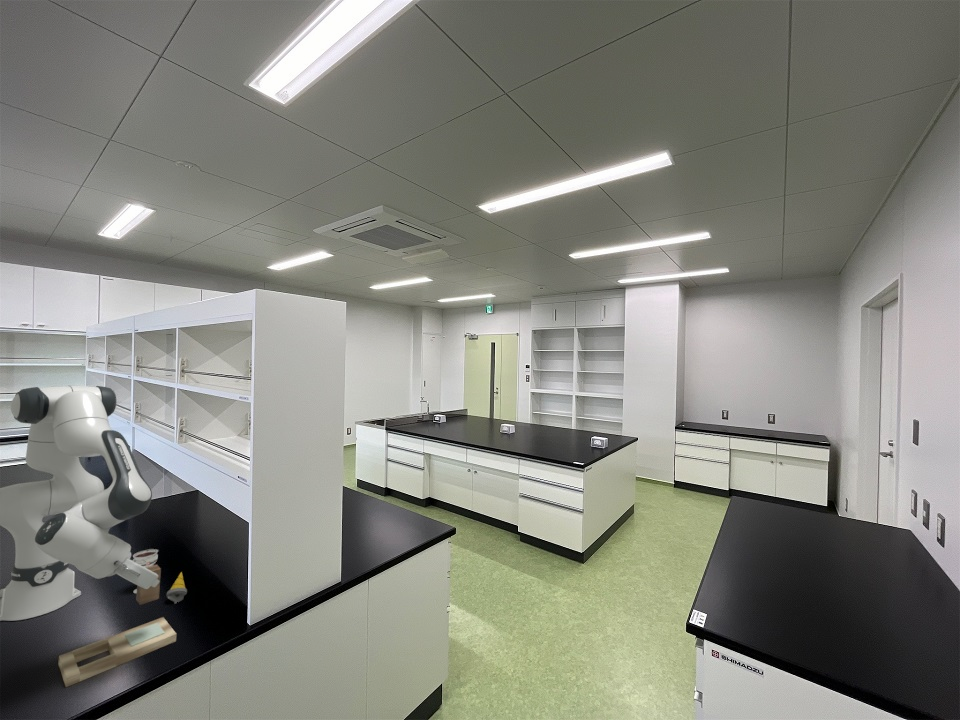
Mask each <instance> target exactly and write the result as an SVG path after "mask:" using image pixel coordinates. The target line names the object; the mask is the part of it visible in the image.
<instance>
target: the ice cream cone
mask: <svg viewBox="0 0 960 720" xmlns="http://www.w3.org/2000/svg"><path fill="white" fill-rule="evenodd" d="M187 594H188V589H187V588H186V585H185V581H184V576H183V571H181V572H180V573H179V574H178V576H177V578H176V580H175V581H174V583H173V584H172V586H171V587H170V589H169V590H168V591H167V592H166V596H165V597H166V599H168V600H170V601H172V602H173V603H174V605H175V604H177V602H178V603H179V602H182V601H183V600H184V597H185V596H186V595H187Z"/></svg>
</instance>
